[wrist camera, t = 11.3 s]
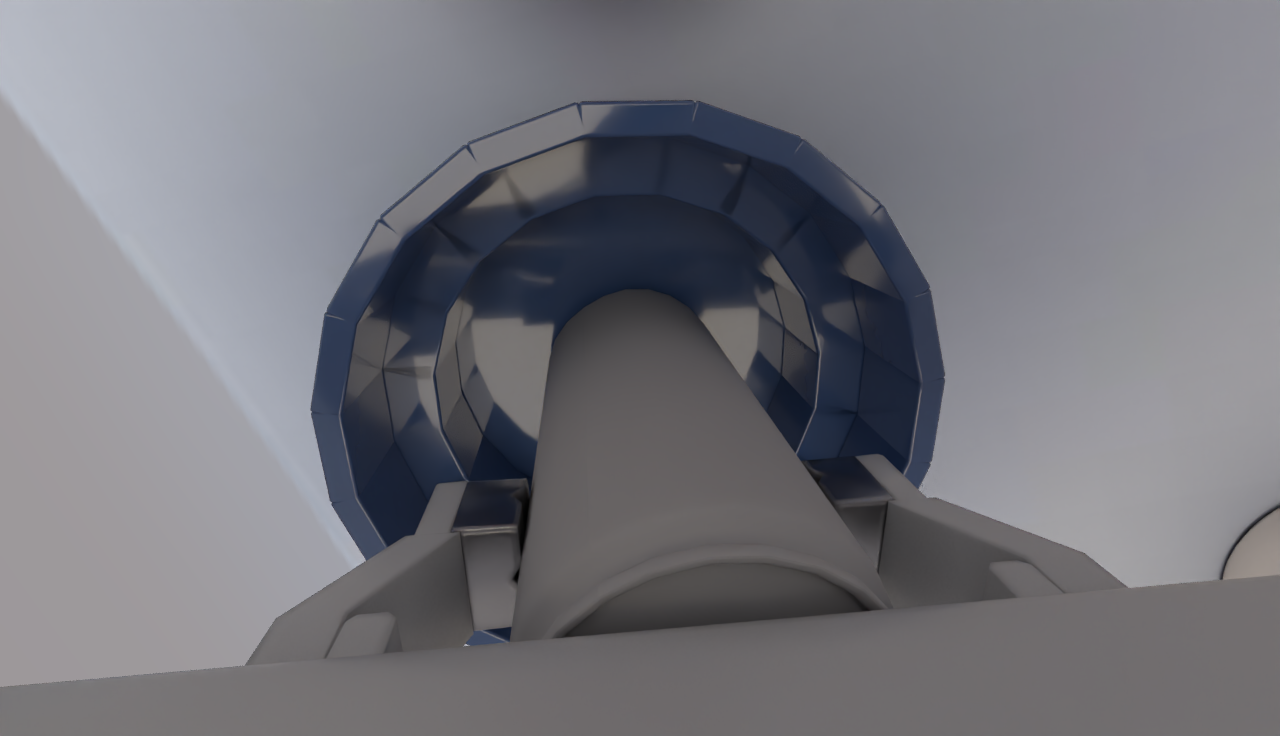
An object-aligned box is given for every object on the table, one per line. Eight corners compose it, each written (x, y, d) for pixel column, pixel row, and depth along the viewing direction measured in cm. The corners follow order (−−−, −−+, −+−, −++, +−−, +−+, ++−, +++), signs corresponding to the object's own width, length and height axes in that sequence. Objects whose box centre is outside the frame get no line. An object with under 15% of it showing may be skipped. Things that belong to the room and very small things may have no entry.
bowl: (361, 121, 16) (241, 104, 10) (853, 115, 17) (993, 96, 11) (430, 550, 20) (373, 704, 14) (815, 521, 21) (901, 654, 16)
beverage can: (714, 427, 19) (912, 835, 8) (561, 445, 19) (533, 896, 7) (708, 275, 17) (948, 513, 6) (538, 292, 17) (458, 576, 6)
